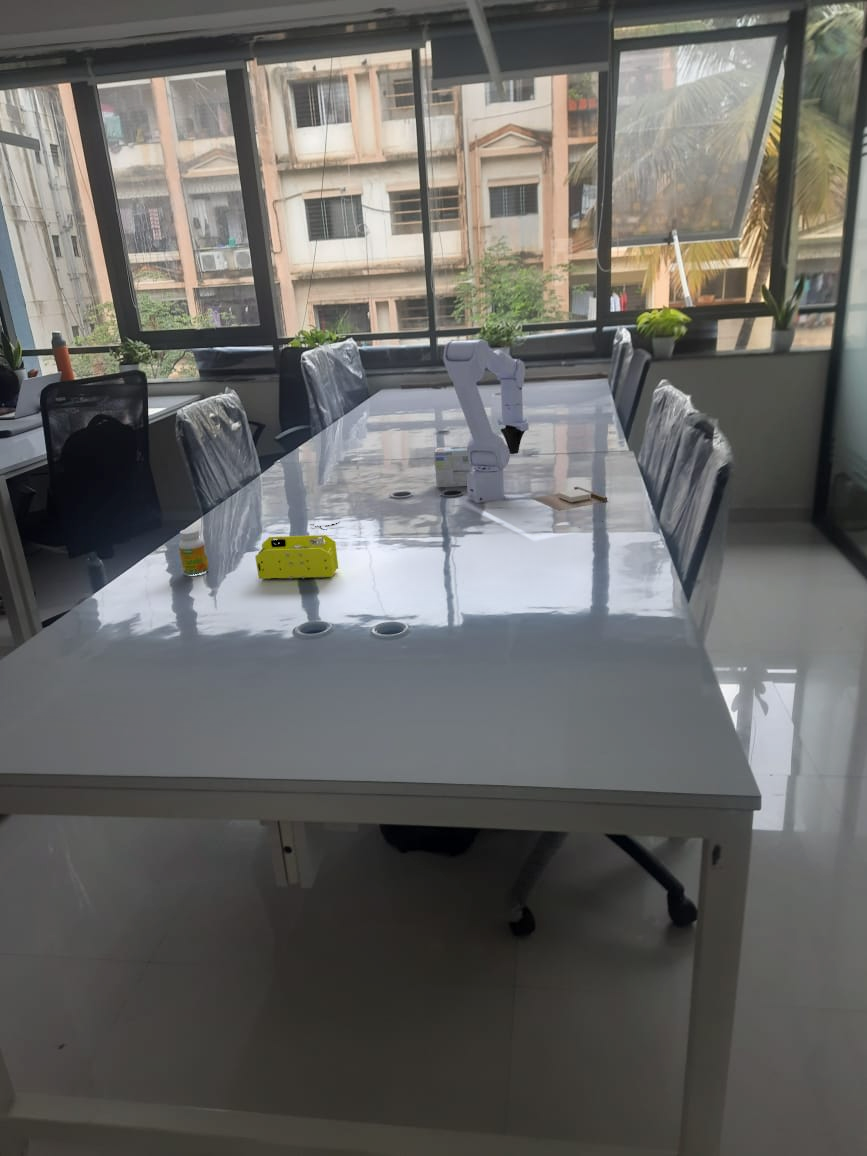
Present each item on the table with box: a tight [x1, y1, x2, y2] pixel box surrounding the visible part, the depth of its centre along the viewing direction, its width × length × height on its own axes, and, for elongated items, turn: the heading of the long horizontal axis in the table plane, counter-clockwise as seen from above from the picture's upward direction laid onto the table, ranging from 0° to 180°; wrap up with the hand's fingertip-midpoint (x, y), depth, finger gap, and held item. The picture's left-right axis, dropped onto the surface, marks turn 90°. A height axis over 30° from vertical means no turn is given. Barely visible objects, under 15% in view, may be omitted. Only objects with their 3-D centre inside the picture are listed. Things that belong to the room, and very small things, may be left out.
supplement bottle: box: [178, 527, 210, 575], centre depth 172 cm, size 5×5×10 cm
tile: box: [558, 489, 591, 502], centre depth 204 cm, size 2×6×6 cm
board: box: [531, 486, 608, 511], centre depth 204 cm, size 14×14×2 cm
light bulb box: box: [433, 445, 474, 488], centre depth 232 cm, size 11×7×11 cm, turn 84°
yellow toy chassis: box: [254, 534, 339, 580], centre depth 166 cm, size 16×6×8 cm, turn 83°
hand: (513, 453), depth 221 cm, fingers closed
